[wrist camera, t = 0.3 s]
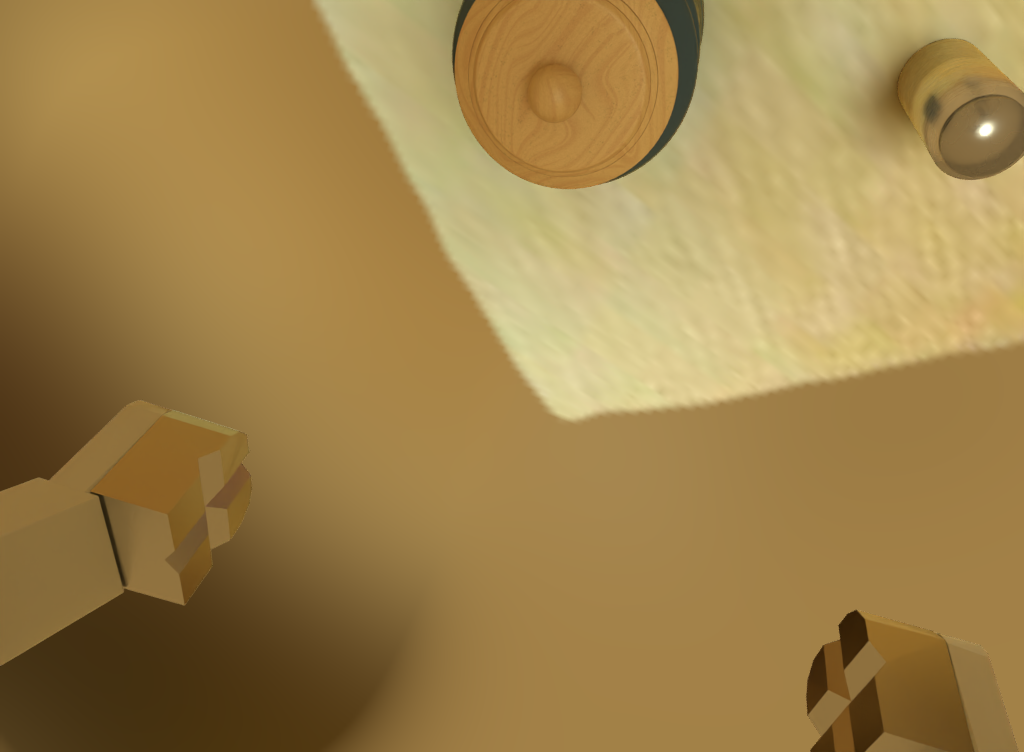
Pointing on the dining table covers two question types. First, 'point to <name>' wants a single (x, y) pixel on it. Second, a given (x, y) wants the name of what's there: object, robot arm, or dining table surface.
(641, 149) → the canister
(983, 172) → the cylinder
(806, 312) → the dining table surface
